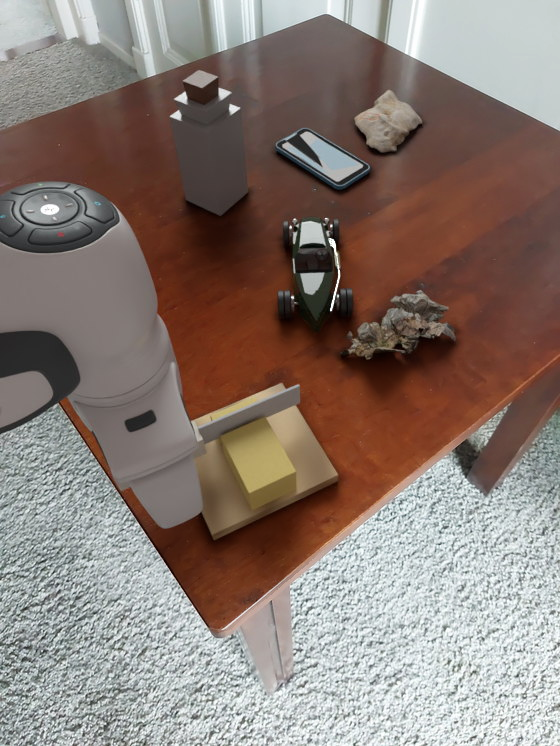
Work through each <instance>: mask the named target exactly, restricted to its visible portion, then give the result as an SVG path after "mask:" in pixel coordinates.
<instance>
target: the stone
mask: <svg viewBox="0 0 560 746" xmlns="http://www.w3.org/2000/svg"><path fill="white" fill-rule="evenodd" d="M353 120H354V122H355V123H354V125H355V126H356V127H357V128H358V129H359V131H360V132H361V133H363V134H364V135H365V137H366V143H365V144H366V145H367V146H369V147H370V149H376V150H377V151H379V152H380V153H388V152H397V150H398V148H397V146H398V145H401V144H402V143H403V142H404V141H405V139H406V138H407V136H409V134H410V131H413V130H415V129H417V127H418V125H420V124H423V120H422V118H421V117H420V116H419V115H418V113H417V112H416V111H415V110H414V109H413V107H412V106H411V105H410V104H409V103H407V102H404V101H400V100H399V99H398V97H397V96H396V94H395V93H394V91H392V90H390V89H388V90H386V91H385V92H384V93H383V94H382V95H381V96H379V97H378V98H377V99H376V100H374V103H373V107H372V108H369V109H366V110H364V111H363V112H361V113H359V114H358V115H356V116H355V117H354V119H353Z"/></svg>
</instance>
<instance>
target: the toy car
mask: <svg viewBox="0 0 560 746" xmlns="http://www.w3.org/2000/svg"><path fill="white" fill-rule="evenodd" d="M330 222H331V220H330V218H329V217H325V218H323V220H322V218H321V217H318V216H306V217H301V218H300V220H298V219H296V218H293V219H292V220H291V224H289V220H283V221H282V242H283V247H284V248H288V247H289V246H290V242H292V254H291V255H292V257H291V259H292V260H291V275H292V276H291V278H292V280H291V281H292V294H291V290H290V289H284V290H283V289H280V290H277V315H278V319H291V318H292V313H294V312H295V305H298V316H299V317H301V319H302V320H303V321H305V322H306V324H307V325H308V326H309V327H310V329H311V330H312V331H313V333H314V334H319V332H320V331H321V329H322V327H323V326H324V324H325V322H327V320H328V319H329V318H330V317H331V316H332V313H333V310H334V307H335V311H336V312H339V317H340V318H342V317H352V316H353V314H354V292H353V289H352V287H346V288H345V287H344V288H339V285H340V281H341V278H342V274H341V272H342V264H341V256H340V255H341V254H340V251H339V250H337V246H339V243H340V222H339V219H338V218H333V219H332V223H330ZM328 225H329V226H328ZM292 227H293V228H292ZM332 249H333V250H332ZM335 271H336V273H337V279H336V275H335Z"/></svg>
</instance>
